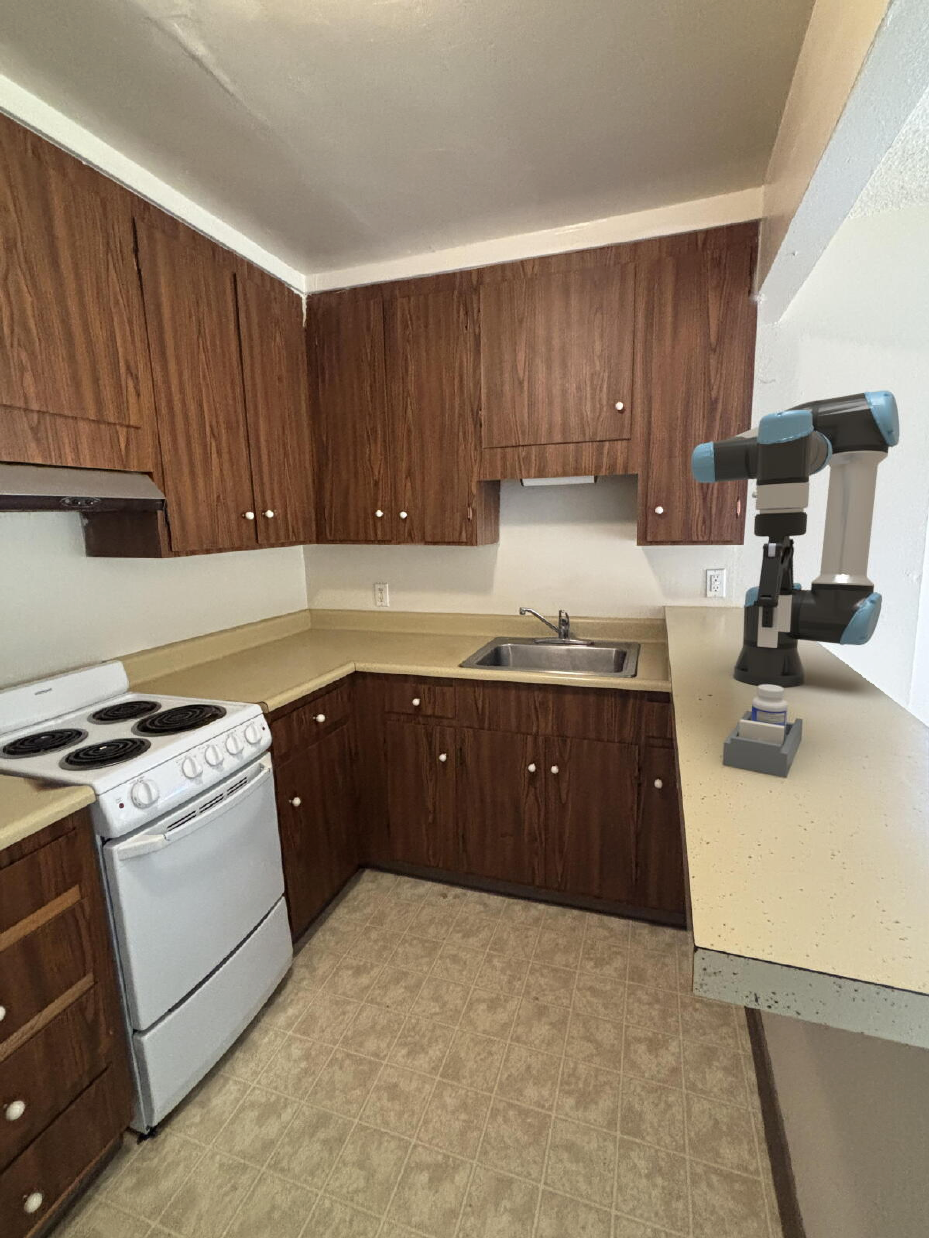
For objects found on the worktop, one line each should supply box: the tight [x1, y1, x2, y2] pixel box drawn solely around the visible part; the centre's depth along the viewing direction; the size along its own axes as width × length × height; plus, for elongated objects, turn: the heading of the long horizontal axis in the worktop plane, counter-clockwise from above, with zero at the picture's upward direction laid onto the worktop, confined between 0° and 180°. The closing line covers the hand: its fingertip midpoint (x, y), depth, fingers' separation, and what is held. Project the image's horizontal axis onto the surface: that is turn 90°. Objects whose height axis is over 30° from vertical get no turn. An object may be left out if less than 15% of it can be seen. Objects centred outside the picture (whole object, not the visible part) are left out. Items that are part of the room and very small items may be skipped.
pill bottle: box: [751, 684, 788, 743], centre depth 97 cm, size 5×5×10 cm
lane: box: [722, 710, 804, 778], centre depth 95 cm, size 18×9×5 cm, turn 143°
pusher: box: [739, 718, 785, 749], centre depth 91 cm, size 5×6×5 cm
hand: (774, 638), depth 96 cm, fingers open, 13 cm apart
